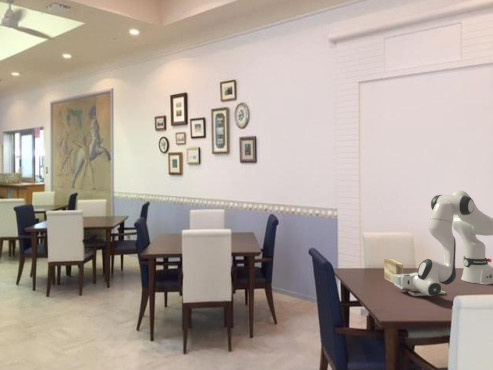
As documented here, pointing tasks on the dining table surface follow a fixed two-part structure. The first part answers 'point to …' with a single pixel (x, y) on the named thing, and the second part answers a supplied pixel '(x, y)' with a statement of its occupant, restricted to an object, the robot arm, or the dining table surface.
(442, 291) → the pad
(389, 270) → the board
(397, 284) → the track
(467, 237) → the robot arm
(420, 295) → the trap pen
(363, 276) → the dining table surface
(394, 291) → the dining table surface
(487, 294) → the dining table surface
